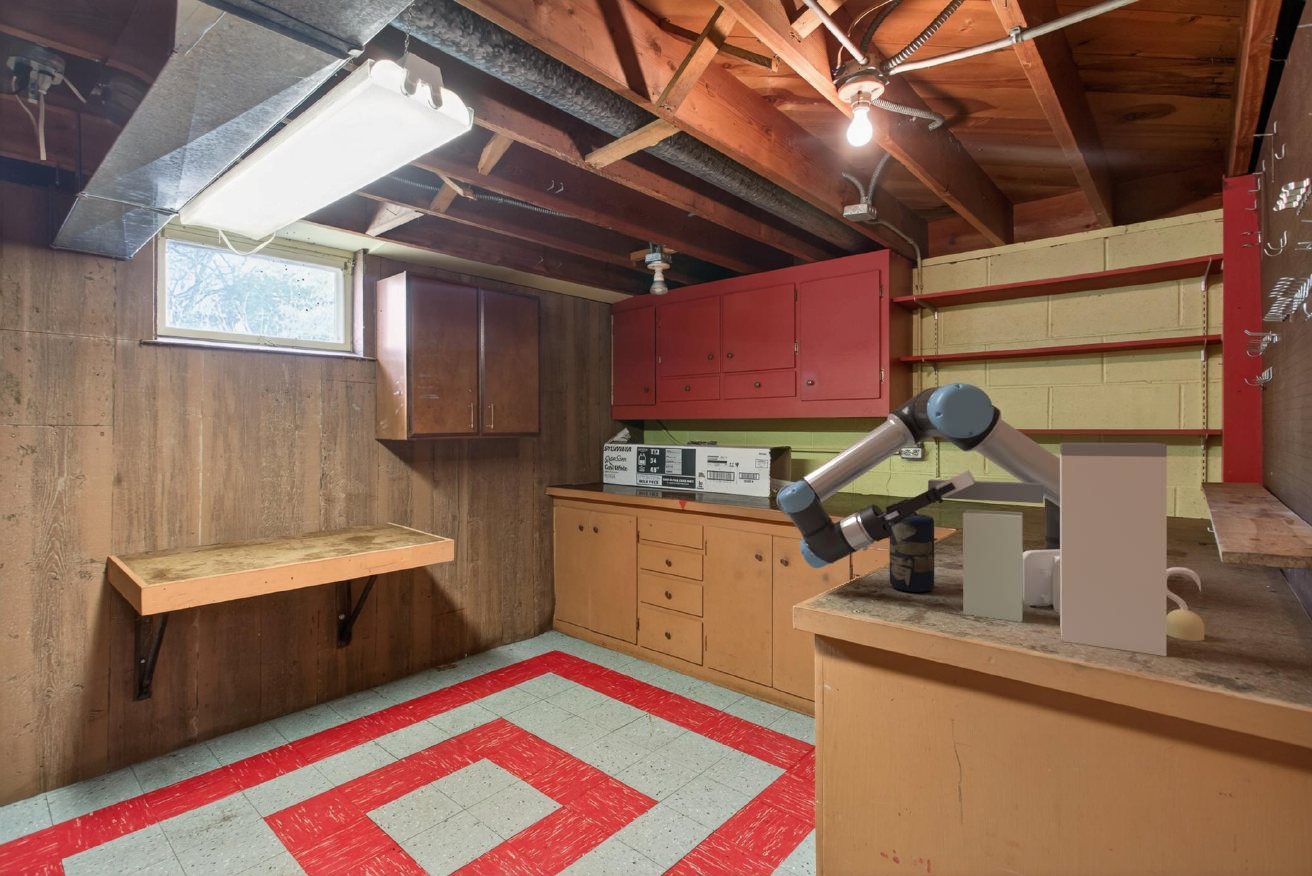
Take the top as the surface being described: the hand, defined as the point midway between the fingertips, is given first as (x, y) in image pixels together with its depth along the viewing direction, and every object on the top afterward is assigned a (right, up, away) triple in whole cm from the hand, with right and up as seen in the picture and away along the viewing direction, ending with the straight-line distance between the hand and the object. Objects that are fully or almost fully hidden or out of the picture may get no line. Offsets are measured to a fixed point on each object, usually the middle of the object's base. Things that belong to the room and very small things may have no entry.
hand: (971, 476), depth 123 cm
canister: (-5, -27, +18) cm, 33 cm away
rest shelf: (+4, -27, -2) cm, 27 cm away
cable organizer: (+20, -27, 0) cm, 34 cm away
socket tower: (+15, -27, -18) cm, 36 cm away
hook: (+29, -27, -15) cm, 43 cm away
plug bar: (+2, -4, -1) cm, 5 cm away
